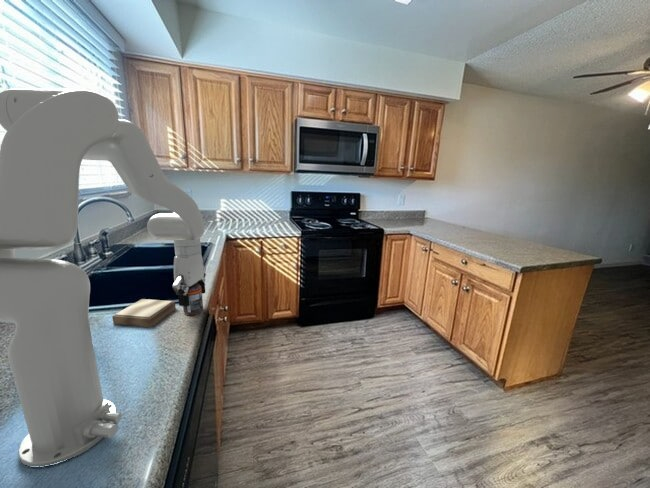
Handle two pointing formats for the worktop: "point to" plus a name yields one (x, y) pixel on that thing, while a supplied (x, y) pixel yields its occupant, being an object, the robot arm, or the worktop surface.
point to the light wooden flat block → (144, 313)
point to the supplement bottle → (194, 300)
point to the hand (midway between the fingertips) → (192, 299)
